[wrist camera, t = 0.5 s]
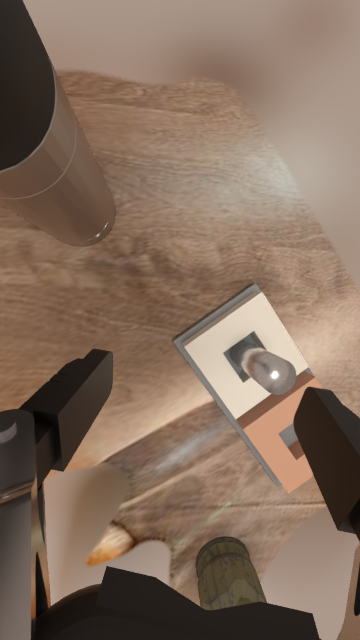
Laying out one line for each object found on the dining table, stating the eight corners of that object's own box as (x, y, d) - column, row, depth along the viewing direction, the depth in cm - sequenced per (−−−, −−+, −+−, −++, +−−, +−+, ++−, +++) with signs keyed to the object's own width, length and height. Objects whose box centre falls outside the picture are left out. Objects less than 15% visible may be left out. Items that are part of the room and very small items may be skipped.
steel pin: (224, 349, 32) (254, 373, 22) (245, 335, 32) (284, 351, 22) (238, 369, 32) (273, 401, 22) (258, 355, 32) (302, 380, 22)
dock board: (172, 340, 32) (174, 345, 28) (252, 283, 32) (264, 281, 29) (274, 482, 36) (286, 502, 32) (345, 430, 36) (365, 444, 32)
